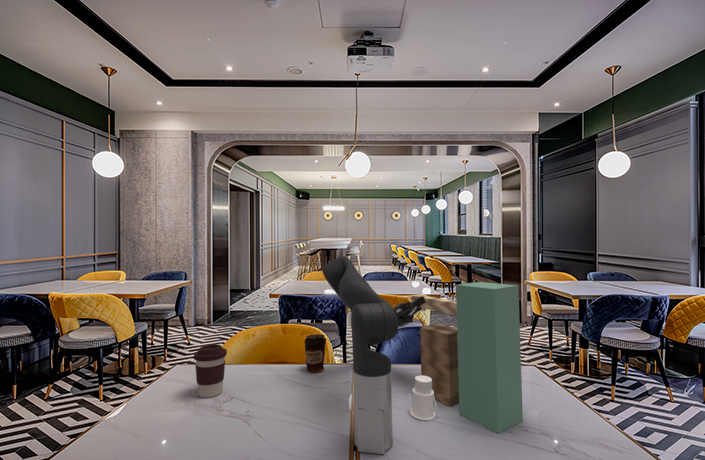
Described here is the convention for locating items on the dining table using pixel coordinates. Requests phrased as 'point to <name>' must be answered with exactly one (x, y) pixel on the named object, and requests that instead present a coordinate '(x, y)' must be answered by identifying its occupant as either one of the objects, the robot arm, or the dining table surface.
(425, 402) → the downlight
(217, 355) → the coffee cup
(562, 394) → the dining table surface
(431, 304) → the beech bar
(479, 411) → the green stand
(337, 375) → the dining table surface
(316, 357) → the coffee cup
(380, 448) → the robot arm
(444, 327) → the walnut block
